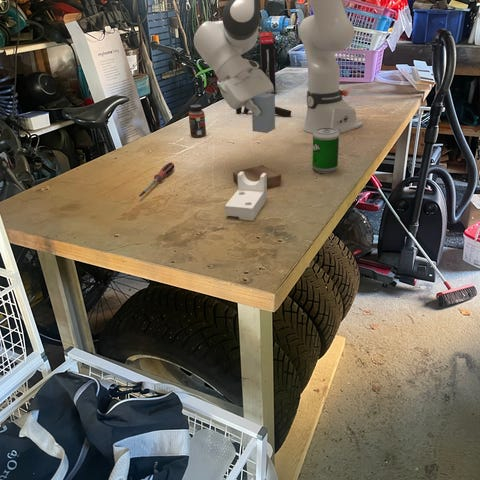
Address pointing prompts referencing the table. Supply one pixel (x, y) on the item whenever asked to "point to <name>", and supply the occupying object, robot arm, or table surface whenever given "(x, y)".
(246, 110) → the adjustable wrench
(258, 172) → the walnut block
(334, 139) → the soda can
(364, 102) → the table surface
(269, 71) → the graphics card box
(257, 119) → the gray block
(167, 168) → the screwdriver
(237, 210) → the bracket
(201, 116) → the supplement bottle
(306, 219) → the table surface
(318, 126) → the robot arm
